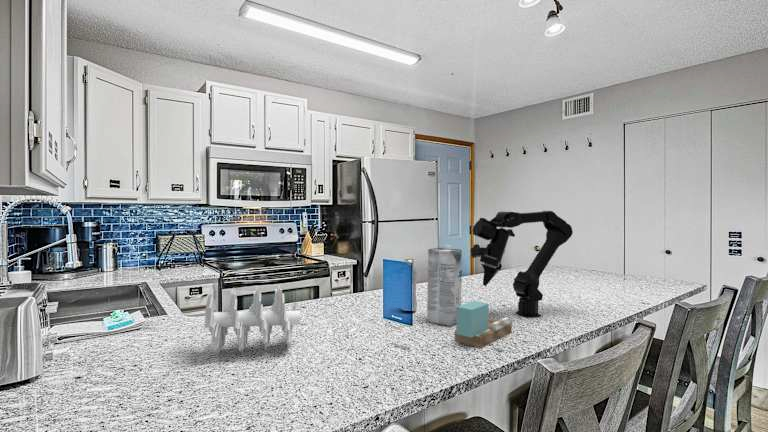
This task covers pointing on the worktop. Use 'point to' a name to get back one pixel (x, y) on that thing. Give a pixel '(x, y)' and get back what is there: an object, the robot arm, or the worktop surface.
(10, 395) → the worktop surface
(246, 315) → the white sculpted piece
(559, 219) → the robot arm
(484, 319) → the teal block
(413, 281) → the plastic bottle
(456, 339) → the brown tray
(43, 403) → the worktop surface
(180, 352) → the worktop surface
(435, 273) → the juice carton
